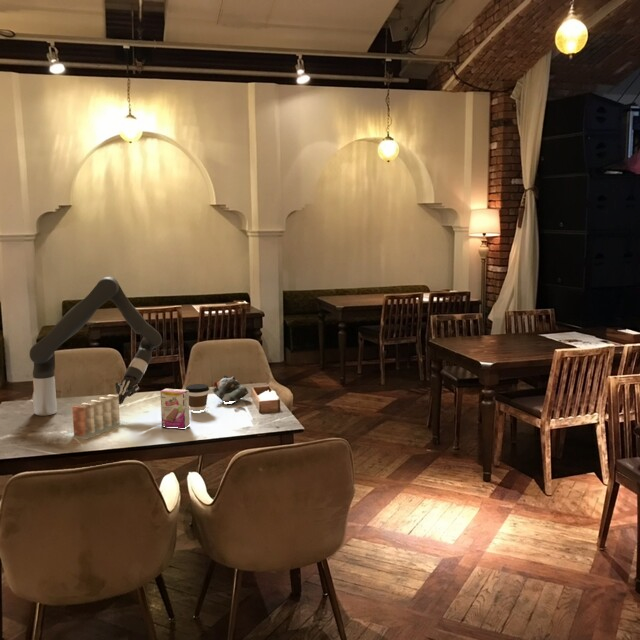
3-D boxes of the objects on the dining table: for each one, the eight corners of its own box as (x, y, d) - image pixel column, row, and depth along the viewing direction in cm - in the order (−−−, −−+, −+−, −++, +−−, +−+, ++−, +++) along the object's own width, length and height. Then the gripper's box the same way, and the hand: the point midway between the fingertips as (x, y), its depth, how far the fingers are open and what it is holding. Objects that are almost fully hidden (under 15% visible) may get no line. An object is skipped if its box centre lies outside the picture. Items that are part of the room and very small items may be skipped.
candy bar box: (161, 428, 301) (159, 390, 298) (166, 424, 306) (165, 388, 303) (185, 430, 298) (183, 392, 295) (190, 426, 303) (189, 389, 300)
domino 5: (108, 422, 308) (107, 395, 307) (111, 421, 310) (109, 394, 308) (117, 423, 306) (115, 396, 304) (119, 422, 308) (118, 395, 306)
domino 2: (82, 431, 295) (81, 403, 293) (85, 430, 296) (84, 402, 295) (91, 433, 293) (90, 405, 291) (94, 432, 294) (93, 404, 292)
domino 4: (100, 425, 304) (98, 398, 302) (102, 424, 305) (101, 397, 304) (109, 426, 302) (107, 399, 300) (111, 425, 303) (110, 398, 301)
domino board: (63, 436, 290) (63, 435, 290) (108, 420, 313) (108, 418, 313) (85, 440, 285) (85, 439, 285) (129, 423, 308) (129, 422, 308)
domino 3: (91, 428, 299) (90, 400, 298) (94, 427, 301) (92, 399, 299) (100, 429, 297) (99, 402, 295) (103, 428, 299) (101, 401, 297)
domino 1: (73, 434, 291) (72, 406, 289) (76, 433, 292) (75, 405, 290) (83, 436, 288) (81, 408, 287) (85, 435, 290) (84, 407, 288)
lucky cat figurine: (228, 407, 333) (214, 380, 333) (218, 411, 343) (205, 385, 343) (253, 393, 341) (239, 367, 342) (243, 397, 351) (230, 372, 352)
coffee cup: (207, 415, 320) (206, 389, 318) (183, 415, 320) (182, 389, 319) (211, 408, 331) (211, 383, 329) (188, 408, 331) (187, 383, 329)
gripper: (120, 364, 319) (102, 397, 310) (143, 367, 313) (125, 400, 304) (129, 373, 324) (111, 405, 315) (151, 376, 319) (134, 409, 310)
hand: (118, 403), depth 310 cm, fingers closed
